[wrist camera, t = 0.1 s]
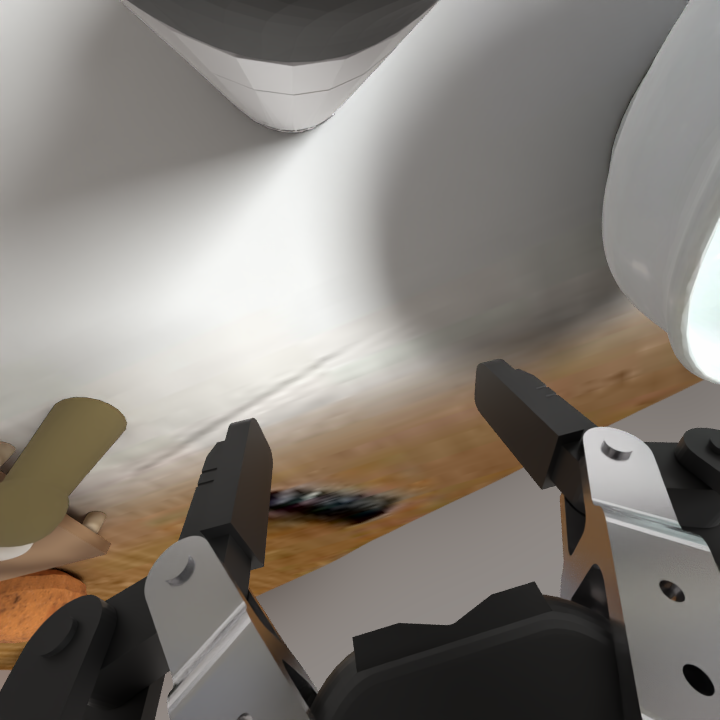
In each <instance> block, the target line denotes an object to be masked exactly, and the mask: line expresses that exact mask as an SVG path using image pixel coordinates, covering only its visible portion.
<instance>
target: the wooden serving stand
mask: <svg viewBox="0 0 720 720" xmlns="http://www.w3.org/2000/svg"><path fill="white" fill-rule="evenodd" d="M15 451H16V450H15V447H14V446H12V445H11V444H8V443H6V442H0V467H1V466H2V465H3V464H4V463H5V462H6V461H7V460H8V459H9V458H10V457H11V456H12V455H13V453H14V452H15ZM5 477H6V474H4V473H3V472H1V471H0V482H2V481H3V480H4V478H5ZM105 518H106V514H105V513H103V512H98V511H94V512H90V513H88V514H87V516H86V517H85V519H84V521H83V523H82V524H81V523H79V522H78V521H76V520H75V519H73V518H71V517H70V516H68V515H67V514H66V515H65V517H64V518H63V520H62V522H61V523H60V524H59V525H58V526H57V527H56V528H55V529H54V530H53V531H52V532H51V533H50V534H49V535H47V536H46V537H44V538H43V539H41V540H39V541H37V542H35V543H31V544H27V545H23V546H17V547H0V581H4V580H7V579H11V578H15V577H19V576H23V575H27V574H31V573H35V572H39V571H43V570H47V569H50V568H54V567H58V566H62V565H66V564H70V563H74V562H78V561H82V560H86V559H90V558H94V557H97V556H101V555H105V554H107V551H108V549H109V547H110V545H111V543H110V542H108V541H107V540H105V539H104V538H102V537H100V536H99V535H97V534H98V532H99V530H100V528H101V526H102V524H103V522H104V520H105Z"/></svg>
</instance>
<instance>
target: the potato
mask: <svg viewBox="0 0 720 720" xmlns="http://www.w3.org/2000/svg"><path fill="white" fill-rule="evenodd" d="M84 595H87V594H86V585H85V584H84V583H82V582H81V581H80V580H78V579H76V578H74V577H72V576H70V575H69V574H67V573H65V572H62V571H60V570H52V569H47V570H43V571H39V572H35V573H31V574H27V575H23V576H19V577H15V578H11V579H7V580H4V581H0V643H20V642H24V641H28V640H30V638H31V637H32V636H33V634H34V633H35V632H36V631H37V629H38V628H39V627H40V626H41V625H42V624H43V623H44V622H45V621H46V620H47V619H48V618H49V617H50V616H51V615H52V614H53V613H54V612H56V611H57V610H58V609H59V608H61V607H62V606H64V605H65V604H66V603H68V602H70V601H72V600H73V599H76V598H78V597H80V596H84Z"/></svg>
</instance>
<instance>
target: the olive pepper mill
mask: <svg viewBox="0 0 720 720" xmlns="http://www.w3.org/2000/svg"><path fill="white" fill-rule="evenodd" d="M126 425H127V422H126V420H125V417H124V416H123V414H122V413H121V412H120V411H119V410H118V409H116V408H115V407H113V406H112V405H110V404H108V403H105V402H102V401H100V400H96V399H91V398H81V397H73V398H69V399H64V400H62V401H60V402H58V403H56V404H55V405H54V407H53V408H52V409H51V411H50V412H49V414H48V415H47V417H46V418H45V420H44V421H43V423H42V424H41V426H40V427H39V429H38V430H37V431H36V433H35V434H34V436H33V437H32V439H31V440H30V442H29V443H28V445H27V446H26V448H25V449H24V450H23V452H22V453H21V455H20V456H19V458H18V459H17V461H16V462H15V464H14V465H13V467H12V468H11V470H10V471H9V472H8V474H7V475H6V477H5V478H4V480H3V481H2V482H0V547H17V546H23V545H27V544H31V543H35V542H37V541H39V540H41V539H43V538H44V537H46V536H47V535H49V534H50V533H51V532H52V531H53V530H54V529H55V528H56V527H57V526H58V525H59V524H60V523H61V522H62V520H63V518H64V517H65V515H66V513H67V510H68V506H69V499H68V496H69V495H70V494H71V493H72V491H73V490H74V489H75V488H76V487H77V486H78V484H79V483H80V482H81V481H82V480H83V479H84V477H85V476H86V475H87V474H88V473H89V472H90V470H91V469H92V468H93V467H94V466H95V465H96V463H97V462H98V461H99V460H100V459H101V458H102V456H103V455H104V454H105V453H106V452H107V451H108V449H109V448H110V447H111V446H112V445H113V444H114V442H115V441H116V440H117V439H118V438H119V437H120V435H121V434H122V433H123V432H124V431H125V430H126Z"/></svg>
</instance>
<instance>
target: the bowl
mask: <svg viewBox="0 0 720 720" xmlns="http://www.w3.org/2000/svg"><path fill="white" fill-rule="evenodd" d="M602 236H603V245H604V250H605V255H606V259H607V262H608V265H609V268H610V271H611V273H612V275H613V277H614V279H615V281H616V283H617V284H618V286H619V288H620V289H621V291H622V292H623V293H624V295H625V296H626V297H627V298H628V300H629V301H630V302H631V303H632V304H633V305H634V306H635V307H636V308H637V309H638V310H639V311H641V312H642V313H643V314H644V315H645V316H647V317H648V318H649V319H650V320H651V321H653V322H654V323H655V324H656V325H658V326H659V327H661V328H662V329H663V330H664V331H666V332H667V333H668V337H669V341H670V343H671V346H672V349H673V351H674V353H675V355H676V357H677V358H678V359H679V361H680V362H681V363H682V364H683V366H684V367H685V368H686V369H687V370H689V371H690V372H691V373H693V374H695V375H696V376H698V377H700V378H702V379H704V380H706V381H709V382H712V383H715V384H720V0H690V1H689V3H688V4H687V6H686V7H685V9H684V10H683V12H682V14H681V15H680V17H679V18H678V20H677V21H676V23H675V25H674V26H673V28H672V29H671V31H670V33H669V35H668V36H667V38H666V40H665V42H664V43H663V45H662V47H661V49H660V50H659V52H658V54H657V56H656V57H655V59H654V61H653V63H652V65H651V67H650V69H649V71H648V72H647V74H646V75H645V77H644V79H643V80H642V82H641V84H640V85H639V87H638V89H637V91H636V92H635V94H634V96H633V98H632V99H631V102H630V104H629V106H628V108H627V110H626V112H625V114H624V116H623V118H622V121H621V124H620V127H619V129H618V132H617V135H616V138H615V142H614V145H613V149H612V154H611V161H610V169H609V174H608V178H607V183H606V188H605V195H604V202H603V213H602Z"/></svg>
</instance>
